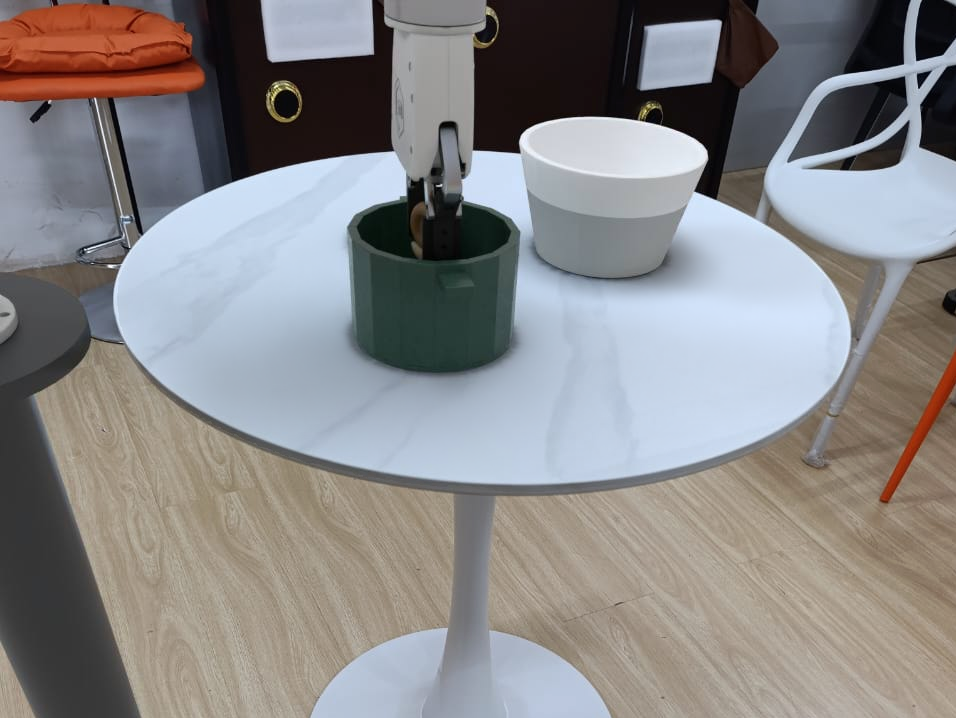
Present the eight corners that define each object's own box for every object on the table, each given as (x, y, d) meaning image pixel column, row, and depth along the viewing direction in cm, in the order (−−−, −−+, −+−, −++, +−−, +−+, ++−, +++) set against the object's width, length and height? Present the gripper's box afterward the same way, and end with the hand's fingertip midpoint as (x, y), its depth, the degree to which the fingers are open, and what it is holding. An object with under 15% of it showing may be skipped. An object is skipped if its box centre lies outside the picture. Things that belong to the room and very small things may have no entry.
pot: (372, 395, 77) (368, 283, 70) (340, 291, 91) (333, 190, 84) (539, 380, 80) (549, 272, 73) (483, 282, 94) (487, 184, 87)
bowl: (724, 268, 99) (748, 160, 91) (581, 303, 91) (595, 189, 84) (614, 208, 110) (628, 108, 103) (478, 235, 102) (483, 129, 95)
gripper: (365, -24, 72) (374, 214, 85) (407, 28, 61) (409, 295, 73) (458, -23, 74) (453, 211, 86) (516, 28, 62) (500, 289, 75)
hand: (433, 247), depth 80 cm, fingers closed on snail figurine, 5 cm apart
